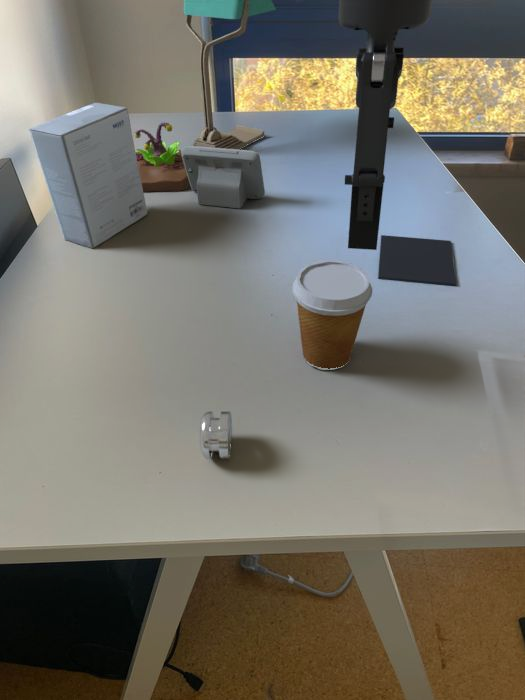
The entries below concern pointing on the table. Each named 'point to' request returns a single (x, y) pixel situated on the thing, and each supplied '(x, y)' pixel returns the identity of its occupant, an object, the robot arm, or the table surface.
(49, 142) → the hard drive box
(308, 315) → the disposable coffee cup
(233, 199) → the digital clock
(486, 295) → the table surface
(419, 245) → the mat
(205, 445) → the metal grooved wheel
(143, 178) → the plant
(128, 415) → the table surface
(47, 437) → the table surface
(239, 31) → the banker's lamp
